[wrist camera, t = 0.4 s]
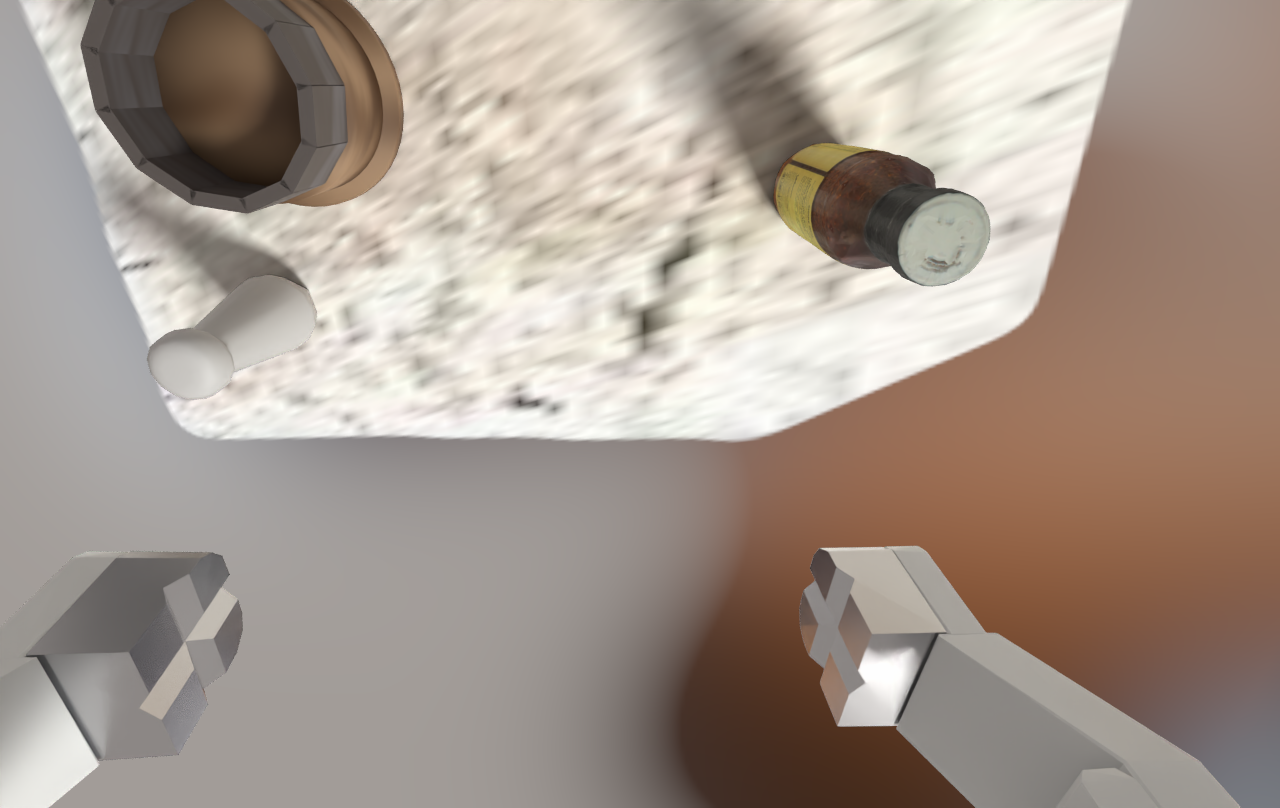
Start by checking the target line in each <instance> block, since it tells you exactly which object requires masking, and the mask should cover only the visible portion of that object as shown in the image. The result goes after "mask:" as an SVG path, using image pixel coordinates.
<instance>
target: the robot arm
mask: <svg viewBox="0 0 1280 808" xmlns="http://www.w3.org/2000/svg"><path fill="white" fill-rule="evenodd" d="M810 570H811V571H812V574H813V576H814V578H815V581H814V582H813V583H812V584H811V585H809V586H808V587H807V588H806V589H805V590H804V591H803V595H802V599H801V604H800V628H801V633H802V637H803V641H804V644H805V647H806V649H807V652H808V654H809V656H810V657H811V658H812V659H814V660H815V661H816V662H817V663H818V664H820V665H821V666H822V667H823V668H824V671H823V675H822V678H821V681H820V684H821V687H822V690H823V692H824V694H825V697H826V699H827V702H828V704H829V707H830V709H831V712H832V714H833V716H834V719H835V721H836V724H837V726H897V728H896V729H897V730H898V731H899V732H900V733H901V734H902V735H903V736H904V737H905V738H906V739H907V740H908V741H909V742H910V743H911V744H912V745H913V746H914V747H915V748H916V749H917V750H918V751H919V752H920V753H921V754H922V755H923V756H924V757H925V758H926V759H927V760H928V761H929V762H930V763H931V764H932V765H933V766H934V767H935V768H936V769H937V770H938V771H939V772H940V773H941V774H942V775H943V776H944V777H945V778H946V779H947V780H948V781H949V782H950V783H951V784H952V785H953V786H954V787H955V788H956V789H957V790H958V791H959V792H960V793H961V794H962V795H963V796H964V797H965V798H966V799H968V801H970V803H971V804H972V805H973V806H974V807H975V808H1241V807H1240V806H1239V805H1238V804H1237V803H1236V801H1235V800H1234V799H1233V798H1232V797H1231V796H1230V795H1229V794H1228V792H1227V791H1226V790H1225V789H1224V788H1223V787H1222V786H1221V785H1220V784H1219V782H1218V781H1217V780H1216V779H1215V778H1214V777H1213V776H1212V775H1211V774H1210V772H1209V771H1208V770H1207V769H1206V768H1205V767H1204V766H1203V765H1202V764H1201V762H1200V761H1198V760H1197V759H1195V758H1194V757H1192V756H1191V755H1189V754H1187V753H1186V752H1184V751H1183V750H1181V749H1180V748H1178V747H1176V746H1175V745H1173V744H1172V743H1170V742H1168V741H1167V740H1165V739H1164V738H1162V737H1161V736H1159V735H1157V734H1156V733H1154V732H1153V731H1151V730H1149V729H1148V728H1146V727H1145V726H1143V725H1142V724H1140V723H1138V722H1137V721H1135V720H1134V719H1132V718H1130V717H1129V716H1127V715H1126V714H1124V713H1123V712H1121V711H1119V710H1118V709H1116V708H1114V707H1113V706H1111V705H1110V704H1108V703H1107V702H1105V701H1104V700H1102V699H1100V698H1099V697H1097V696H1096V695H1094V694H1092V693H1091V692H1089V691H1088V690H1086V689H1085V688H1083V687H1081V686H1080V685H1078V684H1077V683H1075V682H1073V681H1072V680H1070V679H1069V678H1067V677H1065V676H1064V675H1062V674H1061V673H1059V672H1058V671H1056V670H1055V669H1053V668H1051V667H1050V666H1048V665H1047V664H1045V663H1043V662H1042V661H1040V660H1039V659H1037V658H1035V657H1034V656H1032V655H1031V654H1029V653H1028V652H1026V651H1024V650H1023V649H1021V648H1020V647H1018V646H1016V645H1015V644H1013V643H1012V642H1010V641H1009V640H1007V639H1005V638H1004V637H1002V636H1001V635H999V634H998V633H986V632H985V631H984V630H983V628H982V627H981V625H980V624H979V622H978V621H977V620H976V618H975V617H974V616H973V614H972V613H971V612H970V610H969V609H968V607H967V606H966V605H965V603H964V602H963V601H962V599H961V598H960V597H959V595H958V594H957V593H956V591H955V590H954V589H953V587H952V586H951V585H950V583H949V582H948V580H947V579H946V578H945V576H944V575H943V573H942V572H941V571H940V569H939V568H938V567H937V565H936V564H935V563H934V561H933V560H932V558H931V557H930V556H929V554H928V553H927V552H926V551H925V550H923V549H922V548H920V547H919V546H893V547H884V548H881V547H863V548H862V547H860V548H819V549H818V551H817V552H816V553H815V554H814V556H813V560H812V563H811V566H810ZM229 575H230V574H229V571H228V569H227V567H226V564H225V561H224V559H223V556H221V555H218V554H215V553H210V552H153V551H152V552H151V551H130V552H101V551H87V552H85V553H82V554H80V555H77V556H75V557H72V558H71V559H70V560H69V561H68V562H67V563H66V564H65V565H64V566H63V567H62V568H61V569H60V570H59V571H58V572H57V573H56V574H55V575H54V576H53V577H52V578H51V579H50V580H49V581H47V582H46V583H45V584H44V585H43V586H42V587H41V588H40V589H39V590H38V591H37V592H36V593H35V594H34V595H33V596H32V597H31V598H30V599H29V600H28V601H27V602H26V603H25V604H24V605H23V606H22V607H21V608H20V609H19V610H18V611H17V612H15V614H14V615H12V616H11V617H10V618H9V619H8V620H7V621H6V623H4V624H3V625H2V626H1V627H0V808H48V807H50V806H51V805H52V804H53V803H54V802H56V801H57V800H58V799H59V798H61V797H62V796H63V795H64V794H65V793H67V792H68V791H69V790H70V789H71V788H72V787H74V786H75V785H76V784H77V783H78V782H80V781H81V780H82V779H83V778H84V777H86V776H87V775H88V774H89V773H90V772H91V771H93V770H94V769H95V768H96V767H98V766H99V762H98V761H102V760H116V759H129V758H144V757H158V756H172V755H179V753H180V751H181V750H182V748H183V746H184V744H185V742H186V741H187V739H188V738H189V736H190V734H191V732H192V731H193V729H194V727H195V725H196V724H197V722H198V720H199V719H200V717H201V715H202V713H203V711H204V710H205V708H206V707H207V705H208V703H207V699H206V695H205V691H204V688H205V687H207V686H208V685H209V684H211V683H212V682H214V681H215V680H216V679H218V678H219V677H221V676H222V675H223V674H225V673H226V672H227V670H228V668H229V666H230V664H231V662H232V661H233V659H234V657H235V655H236V653H237V650H238V646H239V642H240V639H241V635H242V631H243V622H242V611H241V608H240V604H239V601H238V599H237V598H235V597H234V596H233V595H231V594H230V593H229V592H227V591H226V590H225V589H223V588H222V585H223V584H224V582H225V581H226V579H227V578H228V576H229Z"/></svg>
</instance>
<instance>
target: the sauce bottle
mask: <svg viewBox="0 0 1280 808" xmlns="http://www.w3.org/2000/svg"><path fill="white" fill-rule="evenodd" d="M773 197H774V204H775V205H776V208H777V210H778V213H779V215H780V216H781V218H782V220H783V221H784V223H785V224H786V225H787V226H788V227H789V228H790V229H791V230H792V231H794V232H795V233H797V234H798V235H799V236H801V237H802V238H804V239H805V240H807V241H808V242H810V243H811V244H813V245H814V246H815V247H817V248H818V249H820V250H821V251H822V252H824V253H825V254H827V255H828V256H830V257H831V258H833V259H835V260H836V261H838V262H840V263H843V264H845V265H848V266H851V267H855V268H861V269H877V268H883V267H888V266H892V268H893V269H894V270H895V271H896V272H897V273H898V274H900V275H901V276H902V277H903V278H905V279H907V280H910V281H912V282H914V283H917V284H919V285H922V286H940V285H946V284H949V283H952V282H954V281H957V280H959V279H960V278H962V277H963V276H965V275H966V274H968V273H970V272H971V271H972V270H973V269H974V268H975V267H976V265H977V264H978V263H979V261H980V260H981V259H982V257H983V255H984V252H985V250H986V248H987V245H988V243H989V240H990V221H989V216H988V214H987V212H986V211H985V208H984V206H983V204H982V203H981V202H979V201H978V200H977V199H976V198H974V197H973V196H971V195H968V194H966V193H964V192H961V191H957V190H954V189H947V188H936V187H935V178H934V174H933V173H932V172H931V171H930V169H928V168H927V167H925V166H923V165H921V164H919V163H917V162H915V161H913V160H911V159H910V158H908V157H904V156H901V155H894V154H891V153H889V152H885V151H879V150H873V149H867V148H861V147H855V146H847V145H840V144H833V143H821V144H812V145H811V146H809V147H807V148H804V149H802V150H800V151H798V152H797V153H796V154H794V155H793V156H792V157H791V158H789V159H788V160H787V161H786V162H785V163H784V164H783V165H782V167H781V169H780V171H779V172H778V175H777V178H776V182H775V188H774V195H773Z"/></svg>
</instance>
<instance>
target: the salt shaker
mask: <svg viewBox="0 0 1280 808" xmlns="http://www.w3.org/2000/svg"><path fill="white" fill-rule="evenodd" d="M316 317H317V311H316V308H315V306H314V303H313V301H312V298H311V295H310V293H309V290H308V289H306V288H304V287H302V286H300V285H298V284H296V283H294V282H292V281H290V280H288V279H286V278H283V277H279V276H274V275H265V276H258V277H252V278H248V279H247V280H246V281H244V282H243V283H242V284H240V285H239V286H238V287H236V288H235V289H234V290H233V291H232V292H231V293H230V294H229V295H228V296H227V297H226V298H225V299H224V300H223V301H222V302H221V303H219V304H218V305H217V306H216V307H215V308H214V309H213V310H212V311H211V312H210V313H209V314H208V315H207V316H206V317H205V318H204V319H203V320H201V321H200V322H199V323H198V324H197V325H196V326H195V327H194V328H188V329H180V330H174V331H171V332H169V333H167V334H165V335H164V336H163V337H161V338H160V339H159V340H157V341H156V342H155V343H154V344H153V345H152V346H150V349H149V353H148V357H147V361H148V365H149V369H150V372H151V375H152V376H153V377H154V379H155V380H156V381H157V382H158V384H159V385H160V386H161V387H163V388H164V389H166V390H167V391H169V392H170V393H172V394H173V395H175V396H179V397H182V398H186V399H190V400H196V399H206V398H208V397H211V396H213V395H215V394H216V393H217V392H219V391H220V390H221V389H223V388H224V387H225V386H226V385H228V384H229V383H230V381H231V378H232V375H233V373H234V372H237V371H239V370H242V369H244V368H247V367H250V366H252V365H255V364H258V363H260V362H263V361H266V360H268V359H271V358H274V357H276V356H279V355H281V354H284V353H287V352H289V351H292V350H295V349H297V348H298V347H299V346H301V345H302V344H303V343H305V342H306V341H307V340H308V339H309V338H310V336H311V334H312V332H313V329H314V327H315V325H316Z"/></svg>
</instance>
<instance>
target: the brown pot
mask: <svg viewBox="0 0 1280 808" xmlns="http://www.w3.org/2000/svg"><path fill="white" fill-rule="evenodd" d="M81 50H82V54H83V59H84V63H85V67H86V72H87V76H88V81H89V85H90V89H91V94H92V98H93V103H94V107H95V110H97V111H96V112H97V114H98V115H99V117H100V118H101V119H102V121H103V122H104V124H105V125H106V126H107V128H108V129H109V131H110V132H111V133H112V135H113V136H114V138H115V139H116V140H117V142H118V143H119V145H120V146H121V147H122V149H123V150H124V152H125V153H126V154H127V156H128V157H129V158H130V160H131V161H132V163H133V164H134V165H135V167H136V168H137V169H138V170H140V171H141V172H143V173H144V174H146V175H147V176H149V177H150V178H152V179H153V180H155V181H156V182H158V183H160V184H161V185H163V186H164V187H166V188H167V189H169V190H170V191H172V192H173V193H175V194H176V195H178V196H179V197H181V198H182V199H184V200H185V201H187V202H188V203H190V204H192V205H197V206H203V207H209V208H216V209H222V210H228V211H235V212H241V213H251V212H254V211H257V210H260V209H263V208H266V207H269V206H272V205H276V204H284V203H292V204H296V205H301V206H312V207H317V206H330V205H335V204H340V203H342V202H345V201H348V200H351V199H354V198H356V197H358V196H360V195H362V194H364V193H365V192H367V191H368V190H370V189H371V188H372V187H374V186H375V185H376V184H377V183H378V182H379V181H380V180H381V179H382V178H383V177H384V176H385V174H386V173H387V171H388V170H389V168H390V167H391V165H392V163H393V161H394V159H395V157H396V155H397V152H398V149H399V146H400V143H401V137H402V131H403V117H404V113H403V100H402V94H401V89H400V84H399V81H398V77H397V74H396V71H395V68H394V66H393V63H392V61H391V59H390V56H389V54H388V52H387V50H386V49H385V47H384V45H383V43H382V41H381V40H380V38H379V37H378V35H377V34H376V32H375V31H374V29H373V28H372V27H371V25H370V24H369V23H368V22H367V20H366V19H365V18H364V17H363V16H362V15H361V14H360V12H359V11H358V10H357V9H355V8H354V7H353V6H352V5H351V4H350V3H349V2H348V1H347V0H95V3H94V6H93V9H92V12H91V15H90V18H89V20H88V23H87V26H86V29H85V32H84V35H83V38H82V41H81Z"/></svg>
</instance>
